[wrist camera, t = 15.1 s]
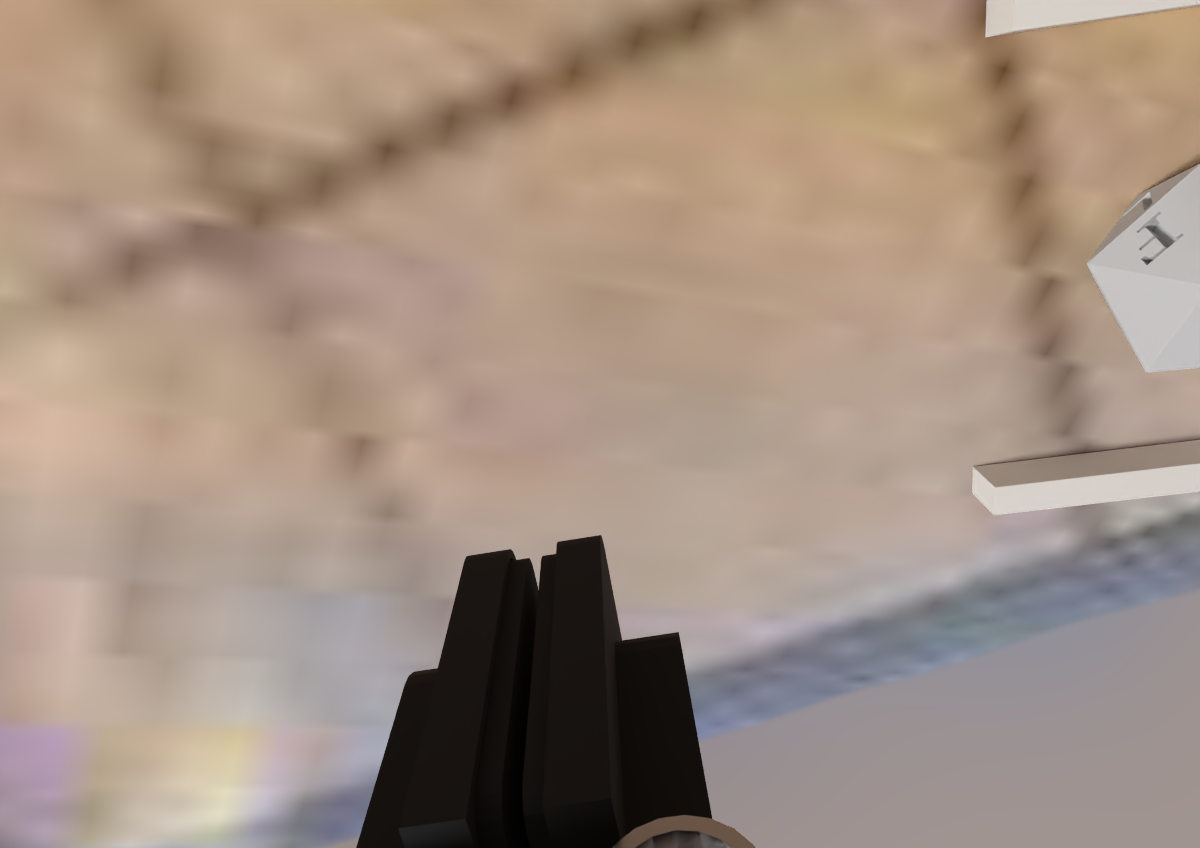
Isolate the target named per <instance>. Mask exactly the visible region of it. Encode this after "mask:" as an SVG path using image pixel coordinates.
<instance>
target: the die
mask: <svg viewBox="0 0 1200 848" xmlns="http://www.w3.org/2000/svg"><path fill="white" fill-rule="evenodd" d="M1087 265H1088V267H1089V269H1090V271H1091V273H1092V275H1093V277H1094V279H1095V282H1096V284H1097V286H1098V288H1099V290H1100V292H1101V294H1102V296H1103V298H1104V300H1105V302H1106V304H1107V306H1108V308H1109V310H1110V312H1111V313H1112V315H1113V317H1114V318H1115V320H1116V322H1117V323H1118V325H1119V327H1120V329H1121V330H1122V332H1123V334H1124V335H1125V337H1126V339H1127V341H1128V342H1129V344H1130V346H1131V347H1132V349H1133V351H1134V353H1135V354H1136V356H1137V358H1138V359H1139V361H1140V363H1141V364H1142V366H1143V368H1144V370H1145V371H1146V373H1150V372H1161V371H1171V370H1181V369H1192V368H1200V164H1198V165H1196V166H1194V167H1192V168H1190V169H1188V170H1186V171H1184V172H1182V173H1180V174H1178V175H1176V176H1174V177H1172V178H1170V179H1168V180H1166V181H1164V182H1162V183H1160V184H1158V185H1156V186H1154V187H1153V188H1151V189H1149V190H1147V191H1145V192H1143V193H1141V194H1139V195H1137V196H1136V198H1135V199H1134V200H1133V202H1132V203H1131V204H1130V206H1129V207H1128V209H1127V210H1126V211H1125V213H1124V214H1123V215H1122V217H1121V219H1120V220H1119V221H1118V222H1117V223H1116V225H1115V226H1114V227H1113V229H1112V230H1111V231H1110V233H1109V234H1108V236H1107V237H1106V238H1105V240H1104V241H1103V242H1102V244H1101V245H1100V246H1099V248H1098V249H1097V250H1096V252H1095V253H1094V254H1093V256H1092V257H1091V258H1090V260H1089V261H1088V262H1087Z"/></svg>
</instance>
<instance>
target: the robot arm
mask: <svg viewBox="0 0 1200 848" xmlns="http://www.w3.org/2000/svg"><path fill="white" fill-rule="evenodd" d="M357 848H755V846H754V845H753V844H752V843H750V842H749V841H748V840H747V839H746V838H745V837H743V836H742V835H741V834H740V833H739V832H737V831H736V830H735V829H734V828H732V827H729V826H727V825H724V824H722V823H720V822H717V821H715V820H713V819H712V815H711V809H710V804H709V798H708V793H707V787H706V782H705V776H704V770H703V765H702V759H701V753H700V748H699V742H698V737H697V731H696V726H695V720H694V715H693V709H692V703H691V698H690V692H689V687H688V681H687V676H686V670H685V664H684V659H683V653H682V648H681V642H680V637H679V632H677V633H670V634H663V635H657V636H650V637H643V638H637V639H630V640H623V641H622V638H621V633H620V627H619V622H618V617H617V612H616V606H615V601H614V596H613V590H612V585H611V580H610V575H609V569H608V564H607V559H606V554H605V549H604V544H603V540H602V537H601V535H599V536H593V537H586V538H580V539H573V540H567V541H561V542H557V550H556V554H553V555H546V556H542V559H541V570H540V581H539V591H538V586H537V582H536V578H535V573H534V569H533V565H532V563H531V560H530V559H529V558H527V559H521V560H516V558H515V555H514V553H513V551H512V550H511V549H509V550H503V551H496V552H490V553H484V554H477V555H471V556H467V557H466V559H465V561H464V565H463V569H462V573H461V577H460V581H459V585H458V589H457V594H456V598H455V602H454V606H453V610H452V614H451V618H450V622H449V626H448V630H447V634H446V638H445V642H444V646H443V650H442V654H441V658H440V662H439V666H438V668H437V669H430V670H424V671H417V672H413V673H412V674H411V675H409V677H408V679H407V681H406V683H405V686H404V689H403V693H402V696H401V699H400V703H399V706H398V709H397V713H396V716H395V720H394V723H393V726H392V730H391V733H390V736H389V740H388V743H387V746H386V750H385V753H384V757H383V760H382V763H381V767H380V770H379V773H378V777H377V780H376V784H375V787H374V790H373V794H372V797H371V800H370V804H369V807H368V810H367V814H366V817H365V821H364V824H363V827H362V831H361V834H360V837H359V841H358V844H357Z"/></svg>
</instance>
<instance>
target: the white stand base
mask: <svg viewBox="0 0 1200 848" xmlns="http://www.w3.org/2000/svg"><path fill="white" fill-rule="evenodd" d="M1198 6H1200V0H987V5H986V37H992V36H999V35H1006V34H1012V33H1019V32H1026V31H1033V30H1040V29H1047V28H1054V27H1060V26H1067V25H1074V24H1081V23H1088V22H1095V21H1102V20H1108V19H1115V18H1122V17H1129V16H1136V15H1143V14H1150V13H1156V12H1163V11H1170V10H1177V9H1184V8H1191V7H1198ZM1199 491H1200V440H1193V441H1184V442H1176V443H1168V444H1159V445H1151V446H1142V447H1134V448H1126V449H1117V450H1109V451H1100V452H1092V453H1084V454H1075V455H1067V456H1059V457H1050V458H1042V459H1033V460H1025V461H1017V462H1008V463H1000V464H991V465H983V466H975V467H973V484H972V493H973V494H974V495H975V496H976V497H977V498H978V499H979V500H980V501H981V503H982V504H983V505H984V506H985V507H986V508H987V509H988V510H989V511H990V512H991V513H992V514H993V515H1001V514H1009V513H1018V512H1026V511H1035V510H1044V509H1052V508H1061V507H1070V506H1078V505H1087V504H1095V503H1104V502H1113V501H1121V500H1130V499H1139V498H1147V497H1156V496H1164V495H1173V494H1182V493H1190V492H1199Z"/></svg>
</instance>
